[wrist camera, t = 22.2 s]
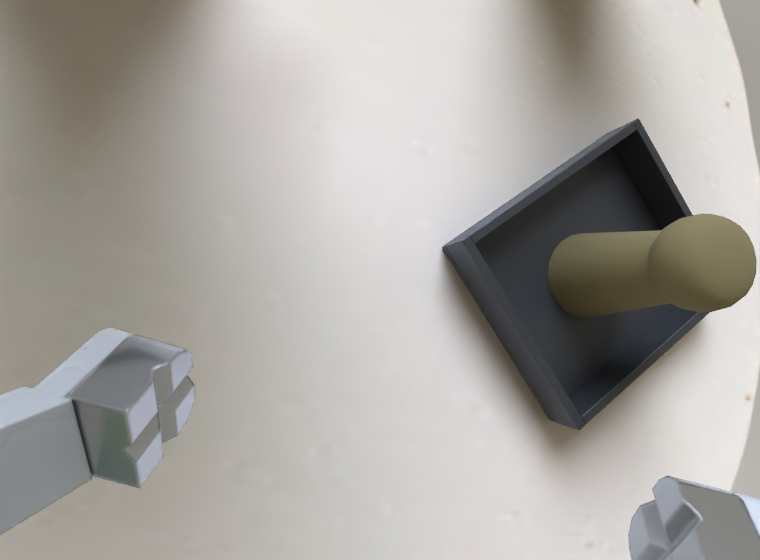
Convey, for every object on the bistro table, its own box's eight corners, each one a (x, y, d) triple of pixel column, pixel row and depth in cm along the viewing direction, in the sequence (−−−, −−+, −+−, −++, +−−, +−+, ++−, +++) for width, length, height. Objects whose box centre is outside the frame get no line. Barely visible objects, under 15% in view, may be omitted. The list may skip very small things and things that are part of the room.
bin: (549, 420, 34) (579, 430, 31) (441, 247, 33) (462, 240, 30) (696, 291, 39) (734, 290, 36) (606, 133, 37) (638, 117, 34)
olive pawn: (630, 300, 36) (792, 295, 26) (564, 330, 35) (708, 339, 24) (603, 222, 36) (755, 185, 26) (536, 249, 34) (668, 221, 24)
